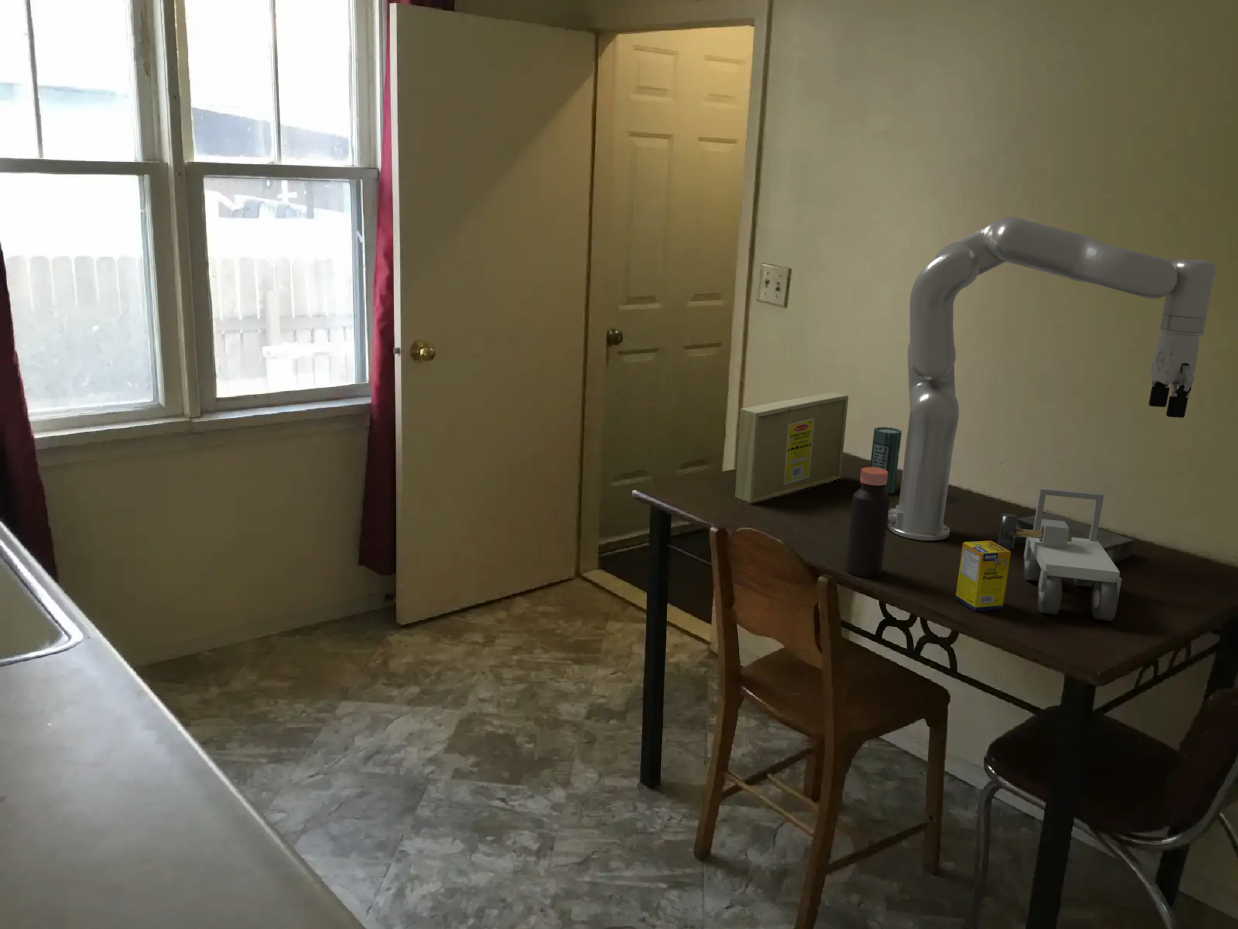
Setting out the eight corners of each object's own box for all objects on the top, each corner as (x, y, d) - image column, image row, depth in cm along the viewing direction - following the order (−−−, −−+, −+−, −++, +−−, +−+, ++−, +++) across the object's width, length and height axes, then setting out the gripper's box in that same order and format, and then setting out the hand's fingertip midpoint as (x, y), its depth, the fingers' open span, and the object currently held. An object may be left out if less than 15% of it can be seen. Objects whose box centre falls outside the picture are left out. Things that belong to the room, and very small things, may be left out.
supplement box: (1003, 609, 184) (1012, 551, 181) (974, 612, 182) (982, 553, 179) (982, 596, 190) (991, 539, 187) (954, 599, 188) (962, 541, 185)
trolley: (1039, 618, 181) (1055, 520, 176) (1018, 571, 203) (1032, 482, 198) (1116, 627, 178) (1135, 528, 174) (1087, 579, 200) (1103, 489, 195)
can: (898, 490, 252) (905, 430, 248) (886, 495, 248) (893, 434, 244) (875, 485, 256) (882, 425, 252) (863, 490, 252) (870, 429, 248)
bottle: (878, 580, 195) (890, 477, 189) (841, 573, 197) (852, 472, 192) (884, 568, 201) (896, 468, 196) (848, 562, 203) (859, 463, 198)
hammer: (998, 548, 192) (1003, 517, 191) (996, 543, 195) (1000, 512, 193) (1069, 555, 190) (1075, 524, 188) (1066, 550, 193) (1071, 520, 191)
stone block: (1098, 571, 206) (1103, 546, 205) (1010, 541, 221) (1013, 518, 220) (1133, 559, 214) (1138, 535, 213) (1046, 531, 229) (1049, 509, 228)
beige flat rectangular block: (825, 476, 263) (834, 391, 257) (840, 480, 259) (849, 394, 253) (733, 500, 240) (740, 408, 234) (748, 505, 236) (756, 412, 230)
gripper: (1146, 317, 210) (1131, 401, 214) (1178, 329, 193) (1161, 419, 198) (1186, 320, 209) (1170, 404, 213) (1221, 332, 192) (1203, 423, 197)
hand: (1165, 411), depth 205 cm, fingers open, 9 cm apart
